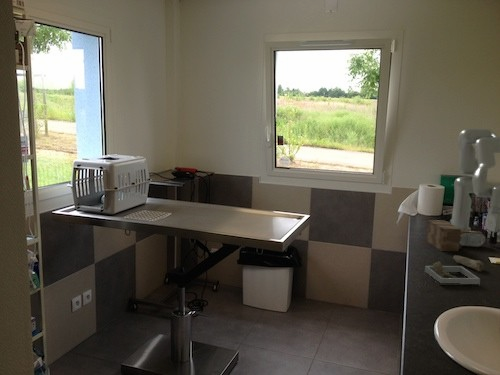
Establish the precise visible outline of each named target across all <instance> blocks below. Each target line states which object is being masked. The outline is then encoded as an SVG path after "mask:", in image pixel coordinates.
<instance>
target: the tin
mask: <svg viewBox="0 0 500 375" xmlns="http://www.w3.org/2000/svg"><path fill="white" fill-rule="evenodd" d="M486 241H487V237H486V235H485V234H484V233H483V232H482V231H480V230H472V229H471V230H461V235H460V242H459V245H462V247H472V248H480V247H483V246H484V245H485V244H486V243H487V242H486Z"/></svg>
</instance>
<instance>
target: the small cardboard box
mask: <svg viewBox="0 0 500 375" xmlns="http://www.w3.org/2000/svg"><path fill="white" fill-rule="evenodd" d="M427 222H428V223H427V231H426V238H425V239H426V242H427V243H428V244H430V245H432V246H433V247H434V248H436V249H438V250H439V251H440V252H459V249H462V247H463V246H462V245H460V244H459V242H460V235H461V229H460V228H458V227H456V226H454V225H452V224H451V222H448V221H446V220H438V219H437V220H436V219H435V220H434V219H433V220H432V219H431V220H430V219H429V220H428V221H427Z"/></svg>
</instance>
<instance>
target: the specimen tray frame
mask: <svg viewBox="0 0 500 375" xmlns="http://www.w3.org/2000/svg"><path fill="white" fill-rule="evenodd" d="M442 266H443V269H445V270H446V271H448V272H461V273H462V274H464V275H465V276H467V277H468V278H466V277H465V276H464V277H459V278H458V277H457V278H447V277H443V278H442V277H440V276H439V275H438V274H437V273H435V272H434V271H436V270H435V267H434V266H433V265H425V266H424V273H425V272H426V273H428V274H429V275H430V276H432V277H433V278H434V279H436V280H437V281H439V282H440V283H460V284H479V285H480V283H481V277H478V276H477V275H475V274H474V273H473V272H471V271H469V270H468V269H466V268H465V266H462V265H442ZM426 273H425V274H426ZM462 274H461V275H462ZM430 276H429V277H430Z"/></svg>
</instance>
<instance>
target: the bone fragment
mask: <svg viewBox="0 0 500 375" xmlns="http://www.w3.org/2000/svg"><path fill="white" fill-rule="evenodd" d="M452 260H454V261H455V262H456V263H457V264H459V265H463V266H464V267H466V266H467V268H469V267H470V268H469V269H473V270H475V271H477V272H479V271H480V272H483V271H484V270H485V267H486V264H485V263H484V262H482V261H481V260H475V259H471V258H469V257H465V256H461V255H455V254H454V255H453V257H452ZM482 270H483V271H482Z"/></svg>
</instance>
